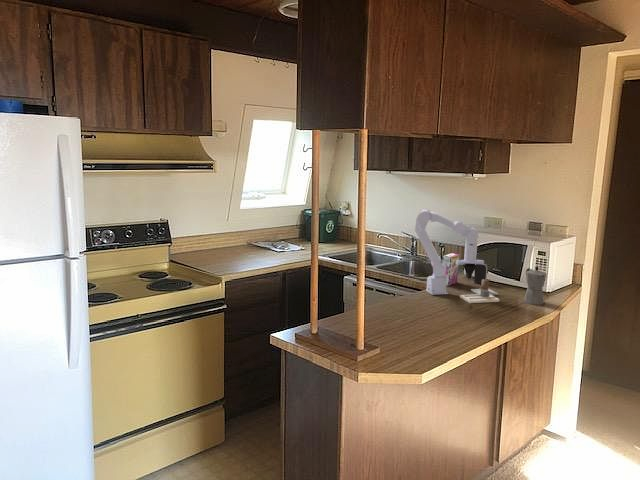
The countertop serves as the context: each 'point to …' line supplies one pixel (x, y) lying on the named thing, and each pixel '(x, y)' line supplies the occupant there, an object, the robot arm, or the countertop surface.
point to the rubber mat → (478, 291)
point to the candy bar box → (451, 268)
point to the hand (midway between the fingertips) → (468, 278)
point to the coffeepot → (534, 286)
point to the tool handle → (485, 284)
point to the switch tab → (484, 293)
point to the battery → (480, 273)
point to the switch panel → (478, 298)
